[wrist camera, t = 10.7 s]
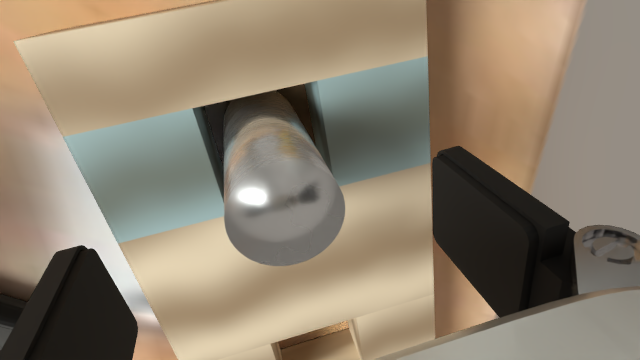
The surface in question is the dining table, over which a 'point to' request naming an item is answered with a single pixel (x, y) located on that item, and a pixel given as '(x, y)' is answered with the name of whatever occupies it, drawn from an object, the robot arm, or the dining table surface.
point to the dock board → (208, 174)
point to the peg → (276, 184)
